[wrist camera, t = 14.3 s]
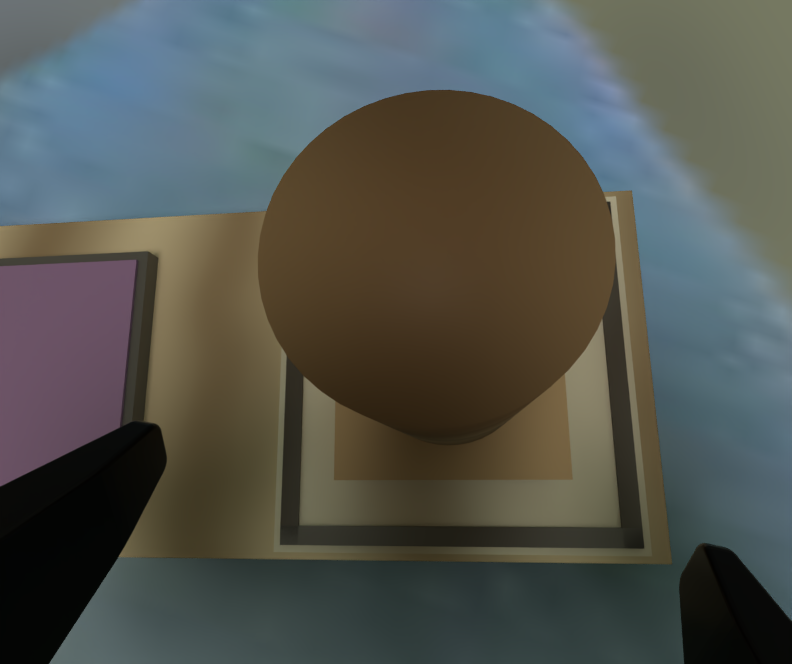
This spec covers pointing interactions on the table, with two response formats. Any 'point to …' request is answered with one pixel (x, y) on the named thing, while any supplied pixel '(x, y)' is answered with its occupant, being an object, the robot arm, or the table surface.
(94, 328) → the ink pad
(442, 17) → the table surface
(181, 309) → the board
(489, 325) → the stamp
